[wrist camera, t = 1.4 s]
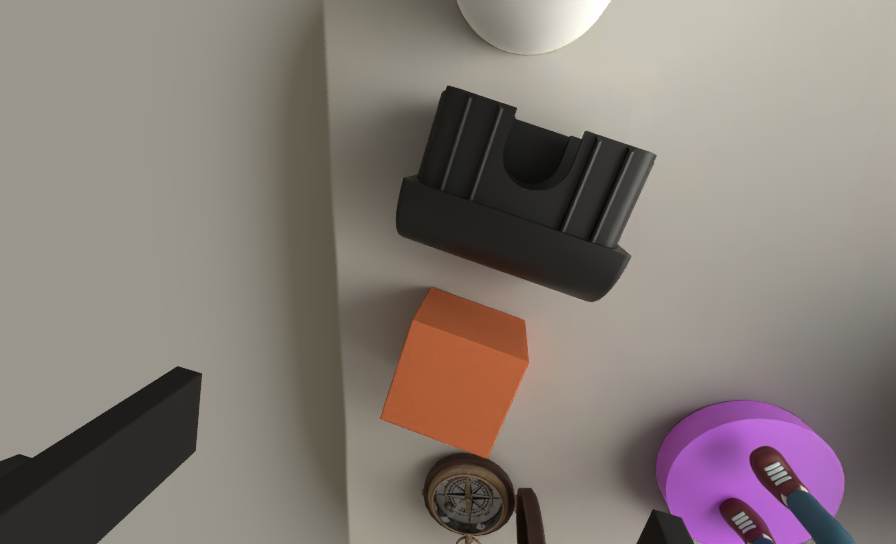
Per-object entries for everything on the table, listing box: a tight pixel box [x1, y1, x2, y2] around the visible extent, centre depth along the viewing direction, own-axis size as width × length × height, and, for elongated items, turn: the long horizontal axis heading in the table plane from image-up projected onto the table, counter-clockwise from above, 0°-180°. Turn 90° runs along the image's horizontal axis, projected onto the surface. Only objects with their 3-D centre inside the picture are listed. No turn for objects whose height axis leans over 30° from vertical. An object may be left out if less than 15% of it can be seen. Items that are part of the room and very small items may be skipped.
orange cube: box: [380, 287, 529, 459], centre depth 24 cm, size 6×6×6 cm
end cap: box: [396, 86, 657, 302], centre depth 21 cm, size 10×7×7 cm
